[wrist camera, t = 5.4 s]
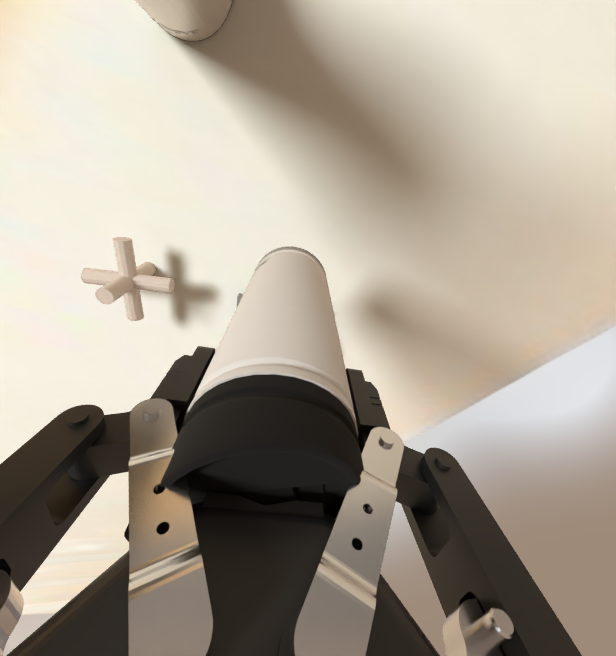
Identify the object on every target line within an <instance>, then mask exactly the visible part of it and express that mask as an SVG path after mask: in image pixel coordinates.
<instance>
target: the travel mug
mask: <svg viewBox="0 0 616 656" xmlns="http://www.w3.org/2000/svg"><path fill="white" fill-rule="evenodd" d="M172 449H174V453H173V456H172V458H171V460H170V463H169V465H168V467H167V469H166V471H165V473H164V476H163V478H162V480H161V484H160V485H159V486H158V488H157V494H160V493H162V492H163V491H164V490H165V488H164V485H171V484H173V483H174V482H176V481H177V480H178V479H179V478H181V477H183V476H184V475H186V477H187V482H188V488H189V494H190V499H191V505H192V504H196V503H200V502H204V499H205V496H206V493H207V492H213V493H223V494H234V495H238V496H241V497H243V498H246V499H249V500H251V501H254V502H257V503H259V504H262V505H272V504H278V503H284V502H289V501H295V500H296V501H307V502H317V503H323V512H324V513H325V514H327V515H329V516H331V517H333V518H334V519H335V518H336V516H337V513H338V511H339V508H340V506H341V504H342V501H343V499H344V497H345V494H346V492H347V490H348V487H349V485H350V483H359V482H361V477H360V475H361V473H362V471H363V470H364V466H363V461H362V456H361V451H360V448H359V442H358V429H357V423H356V418H355V414H354V409H353V404H352V399H351V394H350V389H349V384H348V379H347V375H346V370H345V365H344V360H343V355H342V351H341V346H340V341H339V336H338V331H337V326H336V322H335V317H334V312H333V307H332V302H331V298H330V293H329V288H328V283H327V278H326V273H325V271H324V268H323V266H322V264H321V263H320V261H319V260H318V259H317V258H316V257H315V256H314V255H313V254H311V253H310V252H308V251H306V250H304V249H301V248H297V247H282V248H277V249H275V250H273V251H271V252H269V253H268V254H267V255H265V256H264V257H263V258H262V260H261V261H260V262H259V264H258V266H257V267H256V269H255V272H254V274H253V276H252V278H251V280H250V282H249V284H248V286H247V288H246V290H245V292H244V294H243V296H242V298H241V300H240V302H239V305H238V307H237V309H236V311H235V313H234V315H233V317H232V319H231V321H230V323H229V325H228V327H227V329H226V331H225V333H224V335H223V338H222V340H221V342H220V344H219V346H218V348H217V350H216V352H215V354H214V356H213V358H212V360H211V362H210V364H209V366H208V368H207V371H206V373H205V375H204V377H203V379H202V381H201V383H200V385H199V387H198V389H197V391H196V393H195V395H194V399H193V401H192V402H191V404H190V406H189V408H188V410H187V412H186V415H185V419H184V422H183V424H182V426H181V430H180V433H179V434H178V436H177V439H176V441H175V443H174V445H173V447H172ZM124 535H125V538H126V539H127V540H128V542H129V524H128V526H127V528H126V531H125V534H124Z"/></svg>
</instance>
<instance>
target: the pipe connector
mask: <svg viewBox="0 0 616 656" xmlns="http://www.w3.org/2000/svg"><path fill="white" fill-rule="evenodd" d="M113 243H114V248H115V254H116V259H117V265H118V270H119V272H115V271H107V270H98V269H90V268H84V269H83V270H82V273H81V279H82V281H83V282H84V283H88V284H97V285H105V286H103V287H101V288H99V289H98V290H97V291H96V293H95V295H96V298H97V299H98V300H99V301H100V302H101V303H103V304H111V303H112V302H114V301H115V300H117V299H118V298H120V297H121V296H122V295H123V297H124V302H125V307H126V313H127V318H128V319H129V320H131V321H137V320H141V319H143V317H144V315H143V308H142V302H141V296H140V289H141V290H150V291H158V292H167V293H172V292H173V291H174V287H175V282H174V279H173V278H166V277H158V276H152V275H153V274H154V273H155V272H156V268H155V266H154V265H153V264H152V263H150V262H145V263H143V264H141V265H139V266H138V267H136V264H135V257H134V251H133V245H132V239H131V238H126V237H117V238H113Z"/></svg>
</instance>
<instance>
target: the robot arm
mask: <svg viewBox="0 0 616 656" xmlns="http://www.w3.org/2000/svg"><path fill="white" fill-rule="evenodd" d="M135 1H136V2H137V3H138V4H139V5H140V6H141V7H142V8H143V9H144V10H145V11H146V12H147V13H148V14H149V15H150V16H151V18H152V19H153V20H154V21H155V22H156V23H158V24H159V25H160V26H161V27H162V28H163V29H164V30H165V31H167V32H168V33H170V34H171V35H173V36H175V37H177V38H180V39H183V40H189V41H197V40H203V39H205V38H207V37H209V36H211V35H213V34H214V33H215V32H216V31H217V30H218V29H219V28H220V27H221V25H222V24H223V22H224V21H225V19H226V17H227V15H228V12H229V10H230V7H231V3H232V0H135ZM214 354H215V348H208V347H201V346H198V347H197V349H196V350H195V352H194V354H193V355H192V356H188V355H184V356H182V357H181V358H179V359H178V360H176V361H175V362H174V364H173V365H172V367H171V368H170V370H169V371H168V373H167V374H166V376H165V377H164V379H163V380H162V382H161V383H160V385H159V386H158V388H157V389H156V391H155V392H154V394H153V395H152V397H151V398H150V399H149V400H145V401H143V402H141V403H139V404H137V405H136V406H135V407H134V408H133V409H132V411H130V412H126V413H119V414H110V415H104V413H103V411H102V409H101V408H100V407H98V406H95V405H80V406H76V407H73V408H70V409H68V410H66V411H64V412H62V413H61V414H59V415H58V416H57V417H56V418H55V419H53V420H52V421H51V422H50V423H49V424H48V425H46V426H45V427H44V428H43V429H42V430H40V431H39V432H38V433H37V434H36V435H35V436H33V437H32V438H31V439H30V440H29V441H27V442H26V443H25V444H24V445H23V446H22V447H20V448H19V449H18V450H17V451H16V452H14V453H13V454H12V455H11V456H10V457H9V458H7V459H6V460H5V461H4V462H3V463H1V464H0V656H3V651H4V648H5V645H6V642H7V640H8V638H9V636H10V634H11V633H12V631H13V629H14V628H15V626H16V624H17V623H18V621H19V619H20V616H21V614H22V610H23V605H24V603H23V597H22V594H21V593H20V591H21V590H22V589H23V587H24V586H25V585H26V584H27V582H28V581H29V580H30V578H31V577H32V576H33V575H34V573H35V572H36V571H37V569H38V568H39V567H40V565H41V564H42V563H43V562H44V560H45V559H46V558H47V556H48V555H49V554H50V552H51V551H52V550H53V549H54V547H55V546H56V545H57V543H58V542H59V541H60V539H61V538H62V537H63V536H64V534H65V533H66V532H67V530H68V529H69V528H70V526H71V525H72V524H73V523H74V521H75V520H76V519H77V517H78V516H79V515H80V513H81V512H82V511H83V510H84V508H85V507H86V506H87V504H88V503H89V502H90V500H91V499H92V498H93V497H94V495H95V494H96V493H97V491H98V490H99V489H100V487H101V486H102V485H103V484H104V482H105V481H106V480H107V478H108V477H109V476H110V475H112V474H117V473H123V472H128V471H129V551H128V552H127V553H126V554H124V555H123V556H122V557H121V558H120V559H119V560H117V561H116V562H115V563H114V564H113V565H112V566H110V567H109V568H108V569H107V570H106V571H105V572H103V573H102V574H101V575H100V576H99V577H98V578H96V579H95V580H94V581H93V582H92V583H91V584H89V585H88V586H87V587H86V588H85V589H84V590H82V591H81V592H80V593H79V594H78V595H77V596H75V597H74V598H73V599H72V600H71V601H70V602H68V603H67V604H66V605H65V606H64V607H63V608H61V609H60V610H59V611H58V612H57V613H56V614H54V615H53V616H52V617H51V618H50V619H49V620H47V621H46V622H45V623H44V624H43V625H42V626H40V627H39V628H38V629H37V630H36V631H35V632H33V633H32V634H31V635H30V636H29V637H28V638H27V639H25V640H24V641H23V642H22V643H21V644H19V645H18V646H17V647H16V648H15V649H14V650H13V651H12V652H10V653H9V654H8V655H7V656H440V655H439V654H438V653H437V651H436V650H435V648H434V647H433V646H432V644H431V643H430V641H429V640H428V639H427V637H426V636H425V634H424V633H423V632H422V630H421V629H420V627H419V626H418V625H417V623H416V622H415V621H414V619H413V618H412V616H411V615H410V614H409V612H408V611H407V610H406V608H405V607H404V606H403V604H402V603H401V601H400V600H399V599H398V597H397V596H396V594H395V593H394V592H393V590H392V589H391V588H390V586H389V585H388V583H387V582H386V581H385V579H384V578H383V577H382V575H381V574H380V571H381V567H382V562H383V557H384V553H385V548H386V543H387V539H388V534H389V529H390V525H391V520H392V515H393V511H394V506H395V502H396V501H397V502H399V503H401V504H402V507H403V509H404V512H405V514H406V517H407V519H408V522H409V525H410V527H411V530H412V532H413V535H414V537H415V540H416V542H417V545H418V547H419V549H420V552H421V555H422V557H423V560H424V562H425V565H426V567H427V570H428V573H429V575H430V578H431V580H432V583H433V585H434V588H435V590H436V592H437V595H438V598H439V600H440V603H441V605H442V608H443V610H444V613H445V615H446V620H445V622H444V625H443V639H444V644H445V647H446V656H582V655H581V654H580V652H579V651H578V649H577V647H576V646H575V644H574V643H573V641H572V639H571V638H570V636H569V635H568V633H567V632H566V630H565V629H564V627H563V625H562V624H561V622H560V621H559V619H558V618H557V616H556V615H555V613H554V611H553V610H552V608H551V607H550V605H549V604H548V602H547V600H546V599H545V597H544V596H543V594H542V593H541V591H540V590H539V588H538V586H537V585H536V583H535V582H534V581H533V579H532V577H531V576H530V574H529V572H528V571H527V569H526V568H525V566H524V565H523V563H522V561H521V560H520V558H519V557H518V555H517V554H516V552H515V551H514V549H513V547H512V546H511V544H510V543H509V541H508V540H507V538H506V537H505V535H504V534H503V532H502V530H501V529H500V527H499V526H498V524H497V522H496V521H495V519H494V518H493V516H492V515H491V513H490V511H489V510H488V508H487V507H486V505H485V504H484V502H483V501H482V499H481V497H480V496H479V494H478V493H477V491H476V490H475V488H474V486H473V485H472V484H471V482H470V480H469V479H468V477H467V476H466V474H465V473H464V471H463V469H462V468H461V466H460V465H459V463H458V462H457V460H456V459H455V458H454V457H453V456H452V455H450V454H449V453H448V452H446V451H444V450H442V449H439V448H429V449H428V450H426V452H425V454H423V453H420V452H418V451H415V450H413V449H410V448H408V447H406V446H404V444H403V441H402V440H401V438H400V437H399V436H398V435H397V434H396V433H395V432H394V431H392V430H391V429H390V426H389V424H388V421H387V418H386V415H385V412H384V409H383V406H382V403H381V400H380V397H379V394H378V391H377V389H376V388H375V387H374V386H373V384H372V383H371V382H366V381H365V380H364V376H363V373H362V371H361V370H354V369H348V368H346V375H347V379H348V384H349V389H350V394H351V399H352V404H353V409H354V414H355V418H356V423H357V429H358V442H359V448H360V451H361V456H362V461H363V466H364V470H363V471H362V473H361V475H360V477H361V482H359V483H350V485H349V487H348V490H347V492H346V494H345V497H344V499H343V501H342V504H341V506H340V508H339V511H338V513H337V516H336V518H335V519H334V518H333V517H331V516H329V515H327V514H325V513H324V512H323V503H317V502H307V501H296V500H295V501H289V502H284V503H278V504H272V505H262V504H259V503H257V502H254V501H251V500H249V499H246V498H243V497H241V496H238V495H234V494H223V493H213V492H207V493H206V496H205V499H204V502H200V503H196V504H192V505H191V499H190V494H189V488H188V482H187V477H186V475H184V476H183V477H181V478H179V479H178V480H177V481H176V482H174V483H173V484H171V485H164V488H165V490H164V491H163V492H162V493H160V494H157V488H158V486H159V485H160V484H161V480H162V478H163V476H164V473H165V471H166V469H167V467H168V465H169V463H170V460H171V458H172V456H173V453H174V449H172V447H173V445H174V443H175V441H176V439H177V436H178V434H179V433H180V430H181V426H182V424H183V422H184V419H185V415H186V412H187V410H188V408H189V406H190V404H191V402H192V401H193V399H194V395H195V393H196V391H197V389H198V387H199V385H200V383H201V381H202V379H203V377H204V375H205V373H206V371H207V368H208V366H209V364H210V362H211V360H212V358H213V356H214Z"/></svg>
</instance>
